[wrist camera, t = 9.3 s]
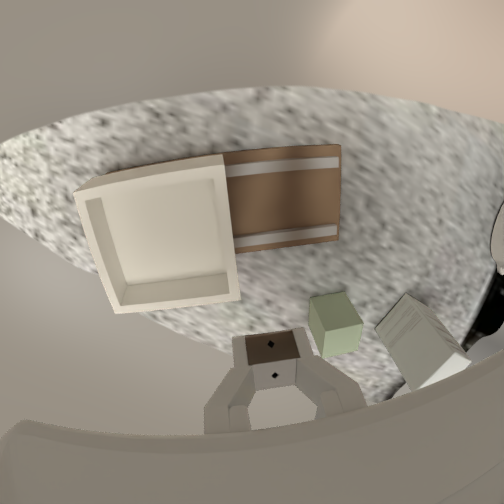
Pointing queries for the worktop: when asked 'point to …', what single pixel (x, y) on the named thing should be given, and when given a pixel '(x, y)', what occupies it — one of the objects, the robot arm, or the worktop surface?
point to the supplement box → (420, 344)
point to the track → (282, 195)
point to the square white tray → (161, 235)
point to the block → (334, 324)
